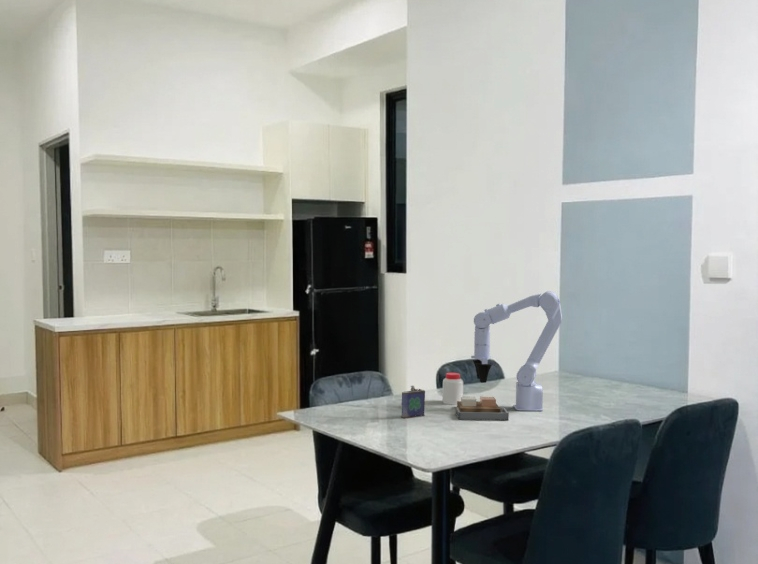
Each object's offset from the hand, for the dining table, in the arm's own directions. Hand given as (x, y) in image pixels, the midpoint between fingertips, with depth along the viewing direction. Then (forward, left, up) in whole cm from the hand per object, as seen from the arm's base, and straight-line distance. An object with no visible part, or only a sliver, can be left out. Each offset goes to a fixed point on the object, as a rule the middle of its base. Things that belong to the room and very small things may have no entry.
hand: (481, 380), depth 270 cm
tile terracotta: (-1, +8, -7) cm, 11 cm away
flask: (+26, +19, -10) cm, 34 cm away
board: (+2, +8, -9) cm, 13 cm away
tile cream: (+6, +8, -7) cm, 13 cm away
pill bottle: (+10, -5, -10) cm, 15 cm away
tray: (+2, +19, -9) cm, 21 cm away
